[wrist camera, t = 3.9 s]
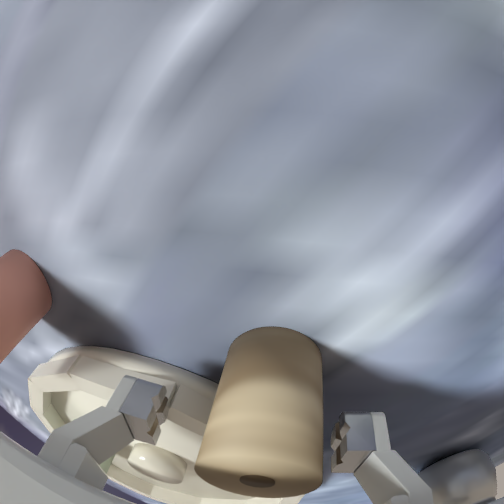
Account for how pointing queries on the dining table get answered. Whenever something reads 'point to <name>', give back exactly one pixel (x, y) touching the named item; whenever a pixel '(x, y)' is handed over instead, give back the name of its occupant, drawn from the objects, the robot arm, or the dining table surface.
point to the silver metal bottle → (462, 479)
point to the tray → (137, 452)
